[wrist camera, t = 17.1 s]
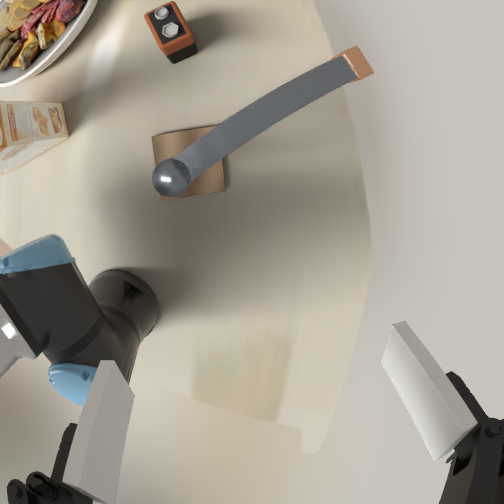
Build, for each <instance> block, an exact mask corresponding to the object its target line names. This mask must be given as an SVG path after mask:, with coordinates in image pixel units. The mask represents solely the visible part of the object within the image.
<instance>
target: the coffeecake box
mask: <svg viewBox="0 0 504 504" xmlns="http://www.w3.org/2000/svg"><path fill="white" fill-rule="evenodd" d="M68 137H69V135H68V131H67V127H66V122H65V117H64V111H63V106H62V103H51V102H32V101H0V175H2V174H5V173H8V172H11V171H14V170H17V169H18V168H20V167H21V166H23V165H24V164H26V163H27V162H29V161H30V160H32V159H33V158H35V157H37V156H38V155H40V154H41V153H43V152H45V151H46V150H48V149H50V148H51V147H53V146H54V145H56V144H58V143H60V142H61V141H63V140H65V139H67V138H68Z"/></svg>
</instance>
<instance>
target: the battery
mask: <svg viewBox="0 0 504 504" xmlns="http://www.w3.org/2000/svg"><path fill="white" fill-rule="evenodd" d="M144 17H145V20H146V22H147V24H148V26H149V28H150V30H151V32H152V34H153V36H154V38H155V40H156V42H157V44H158V46H159V47H160V49H161V50H162V51H163V53H164V54H165V55H166V56H167V58H168V59H169V60H170V61H171V63H173V64H175V63H177V62H179V61H181V60H183V59H185V58H188V57H190V56H192V55H194V54H196V53H197V52H198V50H197V47H196V44H195V41H194V38H193V35H192V32H191V30H190V28H189V27H188V25H187V23H186V21H185V19H184V17H183V15H182V14H181V12H180V10H179V8H178V6H177V5H176V3H175V2H174V1H171V2H169V3H166V4H164V5H162V6H160V7H158V8H156V9H154V10H152V11H150V12H148V13H146V14H145V15H144Z"/></svg>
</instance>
